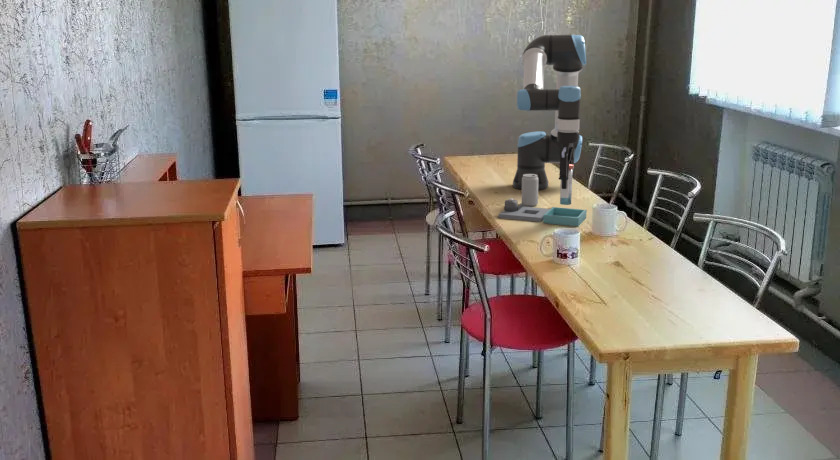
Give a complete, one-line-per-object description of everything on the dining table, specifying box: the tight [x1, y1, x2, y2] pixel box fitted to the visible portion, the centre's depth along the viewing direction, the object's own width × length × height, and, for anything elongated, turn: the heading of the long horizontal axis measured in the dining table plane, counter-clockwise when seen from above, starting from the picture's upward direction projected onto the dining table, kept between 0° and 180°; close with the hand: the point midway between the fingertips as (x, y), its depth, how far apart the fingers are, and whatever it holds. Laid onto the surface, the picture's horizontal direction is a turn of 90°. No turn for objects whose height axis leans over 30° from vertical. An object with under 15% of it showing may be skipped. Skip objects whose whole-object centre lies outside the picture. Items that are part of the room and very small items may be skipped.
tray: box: [542, 206, 588, 227], centre depth 284 cm, size 13×13×3 cm
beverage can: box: [520, 174, 539, 207], centre depth 306 cm, size 6×6×12 cm
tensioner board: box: [498, 198, 551, 223], centre depth 292 cm, size 14×16×6 cm
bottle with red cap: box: [559, 163, 575, 206], centre depth 281 cm, size 5×5×14 cm
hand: (565, 195), depth 282 cm, fingers closed on bottle with red cap, 4 cm apart
